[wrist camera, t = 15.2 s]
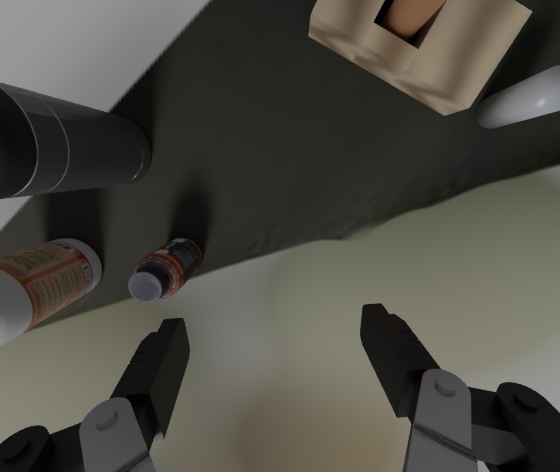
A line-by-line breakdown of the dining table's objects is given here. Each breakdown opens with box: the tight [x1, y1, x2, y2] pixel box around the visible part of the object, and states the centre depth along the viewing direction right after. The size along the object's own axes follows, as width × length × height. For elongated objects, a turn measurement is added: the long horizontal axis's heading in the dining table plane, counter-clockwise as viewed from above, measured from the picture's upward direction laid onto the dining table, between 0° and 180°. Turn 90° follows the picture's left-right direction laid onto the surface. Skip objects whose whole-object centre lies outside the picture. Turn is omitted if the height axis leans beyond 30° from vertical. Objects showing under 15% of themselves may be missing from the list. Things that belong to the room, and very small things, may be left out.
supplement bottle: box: [128, 238, 202, 303], centre depth 36 cm, size 6×6×11 cm
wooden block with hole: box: [309, 0, 532, 116], centre depth 30 cm, size 20×10×5 cm, turn 63°
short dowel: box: [475, 65, 560, 129], centre depth 29 cm, size 4×4×9 cm
